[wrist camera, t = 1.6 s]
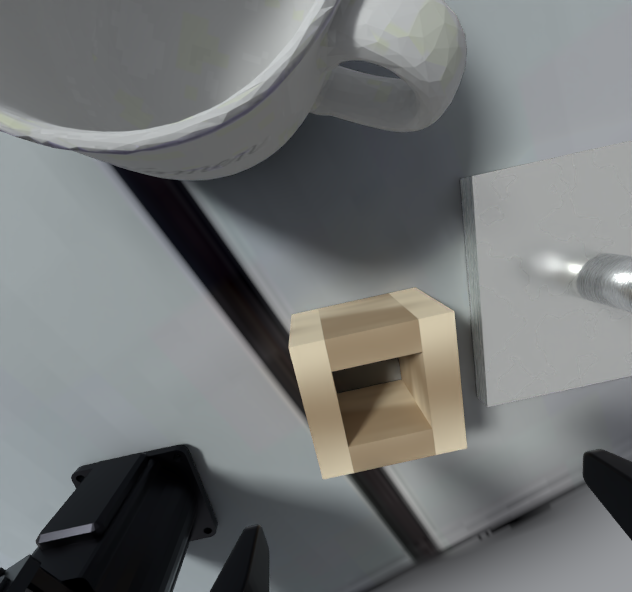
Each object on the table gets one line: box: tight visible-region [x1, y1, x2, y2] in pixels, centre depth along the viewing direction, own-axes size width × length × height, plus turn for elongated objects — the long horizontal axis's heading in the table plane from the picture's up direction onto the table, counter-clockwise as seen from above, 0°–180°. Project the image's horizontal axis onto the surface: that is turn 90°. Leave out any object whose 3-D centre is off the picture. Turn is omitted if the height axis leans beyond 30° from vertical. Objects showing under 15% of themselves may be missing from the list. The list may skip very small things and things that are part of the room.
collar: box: [289, 288, 467, 479], centre depth 14 cm, size 6×6×4 cm
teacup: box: [0, 0, 467, 181], centre depth 9 cm, size 14×11×8 cm
